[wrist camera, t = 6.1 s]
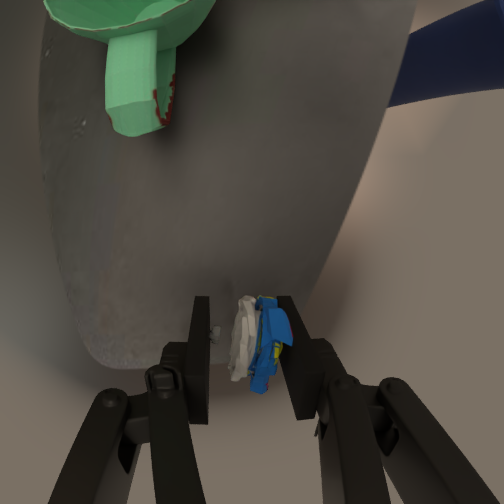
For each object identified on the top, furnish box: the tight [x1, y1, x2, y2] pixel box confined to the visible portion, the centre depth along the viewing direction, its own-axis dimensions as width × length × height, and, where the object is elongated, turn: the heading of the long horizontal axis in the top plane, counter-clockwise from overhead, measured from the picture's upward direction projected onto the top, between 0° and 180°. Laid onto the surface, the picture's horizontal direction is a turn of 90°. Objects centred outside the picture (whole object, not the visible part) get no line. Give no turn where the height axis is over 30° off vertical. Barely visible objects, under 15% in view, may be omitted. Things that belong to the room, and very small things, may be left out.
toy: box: [208, 295, 293, 394], centre depth 14 cm, size 5×4×5 cm
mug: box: [44, 0, 216, 137], centre depth 13 cm, size 15×10×10 cm
